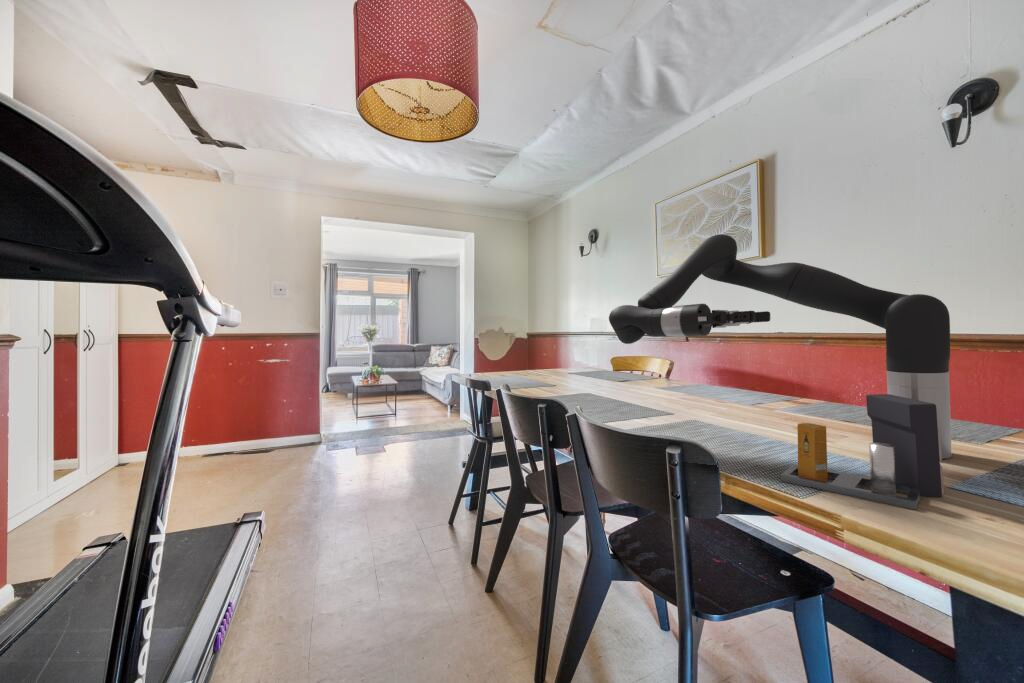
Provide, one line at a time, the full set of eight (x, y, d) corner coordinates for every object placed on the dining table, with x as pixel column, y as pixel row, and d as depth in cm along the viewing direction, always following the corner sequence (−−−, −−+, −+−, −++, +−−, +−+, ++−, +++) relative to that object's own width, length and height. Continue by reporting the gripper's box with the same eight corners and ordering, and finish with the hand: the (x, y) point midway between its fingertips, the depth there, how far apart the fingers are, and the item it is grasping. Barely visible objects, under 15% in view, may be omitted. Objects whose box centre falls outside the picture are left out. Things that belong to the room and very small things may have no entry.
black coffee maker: (948, 500, 62) (942, 403, 62) (915, 499, 63) (909, 404, 63) (898, 475, 73) (893, 393, 73) (870, 475, 74) (865, 394, 74)
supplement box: (830, 482, 70) (828, 425, 70) (814, 485, 69) (812, 427, 69) (811, 476, 73) (810, 421, 73) (796, 478, 72) (794, 423, 72)
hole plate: (794, 470, 76) (794, 464, 76) (921, 494, 63) (921, 487, 63) (781, 481, 71) (780, 474, 71) (915, 509, 58) (915, 501, 58)
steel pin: (872, 489, 66) (871, 441, 66) (897, 494, 64) (896, 444, 64) (869, 494, 64) (867, 445, 64) (894, 500, 62) (893, 448, 62)
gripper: (670, 304, 90) (748, 296, 78) (699, 305, 99) (773, 299, 87) (671, 337, 90) (750, 335, 78) (700, 336, 99) (775, 333, 87)
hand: (762, 316), depth 82 cm, fingers open, 8 cm apart
